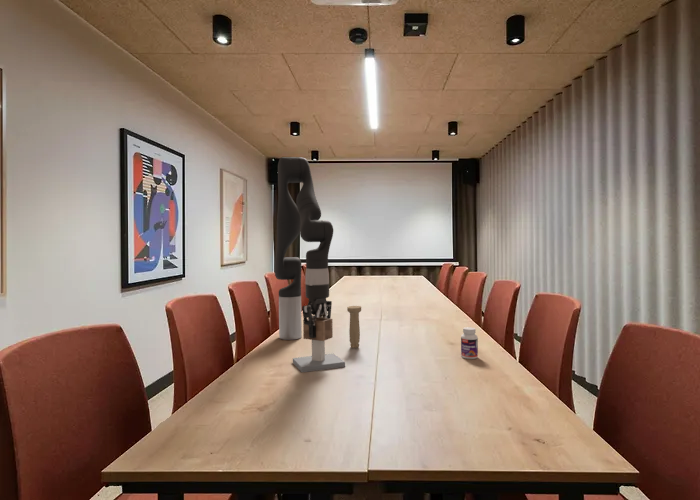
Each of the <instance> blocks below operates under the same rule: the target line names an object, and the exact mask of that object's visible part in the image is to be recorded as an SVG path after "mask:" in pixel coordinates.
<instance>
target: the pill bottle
mask: <svg viewBox="0 0 700 500" xmlns="http://www.w3.org/2000/svg"><path fill="white" fill-rule="evenodd" d="M476 330H477V329H476V327H471V326H466V327H465V326H464V327H463V328H462V332H463V333H462V334H461V335H460V356H461V358H463V359H465V360H475V359H478V357H479V354H478V353H479V350H478V349H479V344H478V343H479V341H478V340H479V338H478V335H477V334H476Z"/></svg>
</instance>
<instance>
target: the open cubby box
mask: <svg viewBox="0 0 700 500" xmlns="http://www.w3.org/2000/svg"><path fill="white" fill-rule="evenodd" d="M312 320H314V319H313V318H312ZM307 321H308V318H307ZM302 323H303V324H302V326H303V330H302V333H303V335H302V336H303V339H304V340H311V341H312V340H318V341H327V340H330V339H332V338H334V337H333V332H334V331H333V318H326V317H323V316H322V317H319V318H318V319H317V321H316V325H315V326H316V338H310V337H309V326H308V325H306V324H304V319H303V320H302Z"/></svg>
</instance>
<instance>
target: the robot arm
mask: <svg viewBox="0 0 700 500" xmlns="http://www.w3.org/2000/svg"><path fill="white" fill-rule="evenodd" d="M312 177H313V176H312V170H311V166H310V164H309V161H308V159H307V158H305V157H301V156H284V157H283V156H282V157H280V158H279V159H278V163H277V187H278V191H277V192H278V193H277V194H278V196H277V197H278V199H277V201H278V202H277V217H276V218H277V219H276V250H275V259H274V261H275V262H274V276H275V278H276V279H277V280H279V281H280V280H281V281H282V280H283V281H284V280H291V281H292V282H291V283H289V284H288V285H287V286H284V287H281V288H280V289H279V290H278V330H279V331H278V337H279V340H284V341H285V340H286V341H288V340H290V341H292V340H297V339H298V340H299V339H301V338H302V336H303V335H302V333H303V330H302V326H303V324H302V323H303V320H304V324H306V325H308V326H309V337H310V338H316V326H315V325H316V321H317V319H318V318H319V317H326V318H330V319H332V317H331V316H332V304H333V303H332V302H333V301H331V300H327V298H329V297H330V272H329V253H330V247H331V243H332V239H333V237H334V226H333V224H332V222H331V221H330V220H328V219H327V220H326V219H321V217H322V210H321V208H320V205H319V202H318V200H317V197H316V194H315V193H316V192H315V187H314V182H313V178H312ZM296 183H297V184H298V183H299V184H300V183H301V184H302V186H301V188H300V190H299V192H298V193H297V196H296V203H295V201H294V200H293V197H292V196H291V194H290V191H289V184H296ZM299 235H300V238H301V239H302V240H303V241H304V242H306V243H319V244H318V247H316V248H315V249H314V248H312V249H310V250H308V251H306V254H305V266H306V267H305V277H304V278H305V298H307V299H308V302H307V305H303V306H302V271H303V270H302V269H303V267H302V260H301V258H300V257H297V256H294V257H292V256H291V257H290V256H289V257H288V256H287V257H285V256H286V253H287V251H288V249H289V247H291V245H292V244H293V243H294V241H295V240H296V239H297V238H298V237H299ZM302 317H303V320H302ZM312 318H313V319H314V320H312ZM307 319H308V321H307Z"/></svg>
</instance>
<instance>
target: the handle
mask: <svg viewBox="0 0 700 500" xmlns="http://www.w3.org/2000/svg"><path fill="white" fill-rule="evenodd" d="M361 311H362V306H361V305H351V306H347V311H346V312H348V313H349V329H348V330H349V331H348V333H349V334H348V335H349V345H350V348H351V349H358V348H359V347H360V338H361V337H360V336H361V331H360V329H361V328H360V327H361V326H360V312H361Z"/></svg>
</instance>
